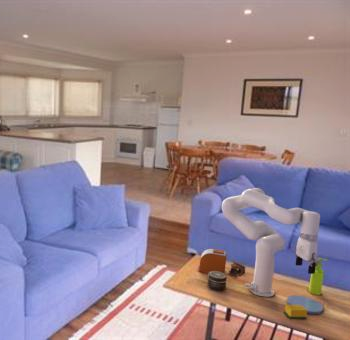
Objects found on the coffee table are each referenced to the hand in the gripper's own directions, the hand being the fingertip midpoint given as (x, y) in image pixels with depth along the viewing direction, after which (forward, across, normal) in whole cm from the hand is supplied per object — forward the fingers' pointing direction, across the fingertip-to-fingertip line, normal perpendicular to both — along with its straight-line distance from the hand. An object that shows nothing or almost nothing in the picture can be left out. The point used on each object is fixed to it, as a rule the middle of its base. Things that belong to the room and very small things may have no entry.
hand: (304, 269), depth 186 cm
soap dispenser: (+21, -16, +20) cm, 34 cm away
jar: (+21, -23, -34) cm, 46 cm away
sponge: (+21, +6, -7) cm, 23 cm away
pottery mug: (+21, -38, -15) cm, 46 cm away
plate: (+21, -3, +5) cm, 22 cm away
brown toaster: (+20, -44, -28) cm, 56 cm away
